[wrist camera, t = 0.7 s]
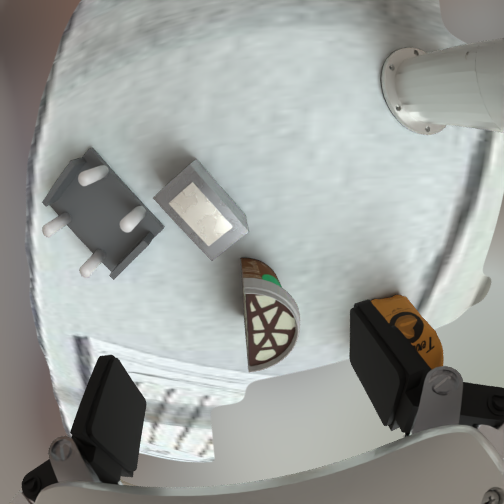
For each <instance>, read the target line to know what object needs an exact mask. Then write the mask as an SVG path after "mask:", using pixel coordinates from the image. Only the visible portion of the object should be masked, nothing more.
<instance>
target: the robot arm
mask: <svg viewBox="0 0 504 504" xmlns="http://www.w3.org/2000/svg"><path fill="white" fill-rule="evenodd" d="M381 80H382V89H383V93H384V97H385V100H386V102H387V105H388V107H389V108H390V110H391V112H392V114H393V115H394V116H395V117H396V119H397V120H398V121H399V122H400V123H401V124H402V125H403V126H404V127H406V128H407V129H409V130H410V131H413V132H415V133H418V134H423V135H432V134H436V133H438V132H440V131H442V130H443V129H444V128H445V127H446V126H447V125H450V126H459V127H468V128H476V129H483V130H489V131H495V132H501V133H504V38H502V39H495V40H488V41H482V42H476V43H470V44H465V45H460V46H455V47H450V48H446V49H442V50H438V51H434V52H430V53H426V52H424V51H422V50H420V49H417V48H411V47H409V48H402V49H399V50H397V51H395V52H393V53H392V54H391V55H390V56H389V57H388V58H387V60H386V61H385V63H384V66H383V69H382V78H381ZM350 362H351V365H352V367H353V369H354V370H355V372H356V374H357V376H358V378H359V380H360V381H361V383H362V385H363V387H364V389H365V391H366V393H367V395H368V396H369V398H370V400H371V402H372V404H373V406H374V408H375V410H376V412H377V413H378V415H379V417H380V419H381V421H382V423H383V425H384V426H387V425H388V426H389V428H390V429H391V431H393V430H395V429H397V428H399V427H400V429H401V431H402V432H404V436H403V438H402V439H399V440H397V441H394V442H392V443H389V444H386V445H384V446H381V447H379V448H376V449H374V450H372V451H368V452H366V453H363V454H360V455H357V456H355V457H351V458H348V459H345V460H342V461H340V462H336V463H333V464H330V465H327V466H323V467H319V468H316V469H312V470H308V471H304V472H300V473H296V474H291V475H286V476H282V477H277V478H272V479H266V480H260V481H254V482H247V483H239V484H230V485H220V486H208V487H180V488H165V487H164V488H163V487H141V486H127V485H123V484H122V482H121V481H120V476H125V477H133V471H135V470H136V469H137V462H138V455H139V448H140V441H141V435H142V428H143V422H144V416H145V411H146V400H145V398H144V397H143V395H142V394H141V392H140V391H139V390H138V388H137V387H136V385H135V384H134V382H133V381H132V379H131V378H130V376H129V375H128V373H127V372H126V370H125V368H124V367H123V365H122V364H121V362H120V360H119V359H118V358H115V357H114V356H113V355H105V356H100V357H99V358H98V360H97V362H96V365H95V367H94V370H93V372H92V375H91V377H90V380H89V382H88V385H87V387H86V390H85V392H84V395H83V398H82V400H81V403H80V406H79V408H78V411H77V414H76V417H75V420H74V423H73V426H72V429H71V432H70V433H71V434H72V438H70V437H68V436H61V437H58V438H56V439H55V440H54V441H53V442H52V443H51V445H50V447H49V451H48V454H49V460H47V461H46V462H44V463H43V464H41V465H40V466H38V467H37V468H35V469H34V470H32V471H31V472H29V473H28V474H27V475H26V476H25V477H24V479H23V481H22V490H23V492H21V491H19V492H18V493H17V494H16V496H15V497H14V498H13V499H12V501H11V502H10V503H9V504H504V388H501V387H494V386H486V385H479V384H472V383H466V382H463V379H462V377H461V374H460V373H459V372H458V371H457V370H455V369H453V368H451V367H447V366H440V367H436V368H434V369H431V368H430V367H429V365H428V364H427V363H426V362H425V360H424V359H423V358H422V357H421V355H420V354H419V353H418V352H417V350H416V349H415V348H414V347H413V345H412V344H411V343H410V342H409V341H408V339H407V338H406V337H405V336H404V334H403V333H402V332H401V331H400V330H399V328H397V327H396V326H394V325H393V326H391V325H390V324H389V323H388V322H387V320H386V319H385V318H384V317H383V315H382V314H381V313H380V312H379V311H378V310H377V308H376V307H375V306H374V305H373V304H372V302H371V301H370V300H365V301H362V302H359V303H356V304H354V308H352V309H351V310H350Z"/></svg>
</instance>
